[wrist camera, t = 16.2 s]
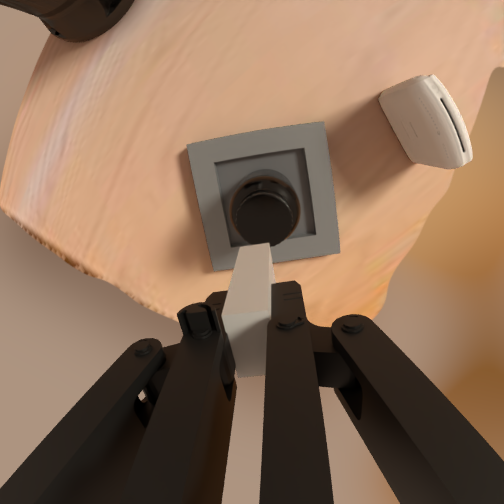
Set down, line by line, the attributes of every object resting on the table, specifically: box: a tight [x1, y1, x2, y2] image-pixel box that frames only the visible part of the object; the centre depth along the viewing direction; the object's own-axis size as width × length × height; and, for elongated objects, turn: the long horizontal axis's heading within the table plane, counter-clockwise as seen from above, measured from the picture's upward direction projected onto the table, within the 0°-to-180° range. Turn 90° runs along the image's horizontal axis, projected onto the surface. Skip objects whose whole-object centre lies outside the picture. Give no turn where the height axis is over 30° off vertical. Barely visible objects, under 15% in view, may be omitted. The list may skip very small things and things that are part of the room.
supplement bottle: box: [229, 169, 301, 247], centre depth 32 cm, size 7×7×12 cm
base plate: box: [187, 121, 340, 271], centre depth 37 cm, size 16×16×2 cm
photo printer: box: [378, 74, 473, 169], centre depth 28 cm, size 10×4×12 cm, turn 33°
